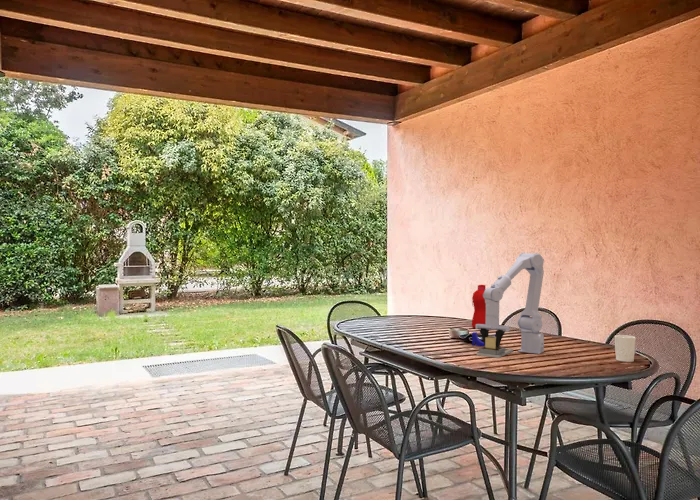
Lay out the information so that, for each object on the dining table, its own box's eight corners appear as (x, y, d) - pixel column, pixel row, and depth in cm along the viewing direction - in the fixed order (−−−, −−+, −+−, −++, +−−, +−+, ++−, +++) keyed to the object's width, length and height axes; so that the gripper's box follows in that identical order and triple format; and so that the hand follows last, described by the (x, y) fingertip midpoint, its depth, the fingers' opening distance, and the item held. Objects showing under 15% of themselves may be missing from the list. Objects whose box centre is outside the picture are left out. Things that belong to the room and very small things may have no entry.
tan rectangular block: (498, 350, 245) (498, 336, 245) (495, 352, 241) (495, 338, 241) (488, 349, 247) (488, 335, 247) (485, 351, 243) (485, 337, 243)
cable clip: (499, 346, 266) (499, 333, 266) (497, 347, 262) (498, 335, 262) (474, 344, 271) (474, 331, 271) (472, 345, 267) (472, 333, 267)
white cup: (624, 362, 230) (624, 338, 230) (610, 358, 238) (610, 335, 238) (639, 361, 232) (640, 337, 232) (625, 358, 240) (625, 334, 240)
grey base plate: (512, 351, 252) (513, 345, 252) (499, 357, 237) (499, 351, 237) (491, 348, 258) (491, 342, 258) (476, 355, 243) (476, 348, 243)
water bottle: (477, 326, 331) (477, 283, 331) (492, 328, 323) (493, 284, 322) (467, 327, 325) (467, 284, 325) (482, 329, 317) (483, 285, 317)
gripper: (472, 314, 245) (472, 346, 245) (505, 317, 237) (505, 350, 237) (479, 313, 251) (478, 343, 251) (511, 316, 242) (510, 347, 242)
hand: (491, 346), depth 244 cm, fingers closed on tan rectangular block, 4 cm apart
